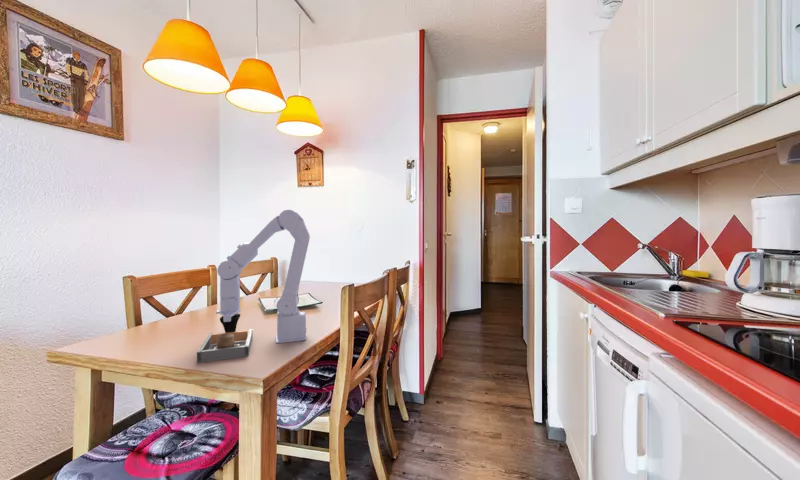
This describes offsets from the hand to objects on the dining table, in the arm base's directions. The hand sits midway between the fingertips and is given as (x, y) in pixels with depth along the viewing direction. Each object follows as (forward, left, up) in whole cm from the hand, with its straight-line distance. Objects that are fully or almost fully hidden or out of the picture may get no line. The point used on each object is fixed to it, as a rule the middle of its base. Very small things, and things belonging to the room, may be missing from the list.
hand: (230, 337), depth 103 cm
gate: (0, +2, -1) cm, 2 cm away
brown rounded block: (0, +10, -1) cm, 11 cm away
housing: (0, +6, -2) cm, 6 cm away
